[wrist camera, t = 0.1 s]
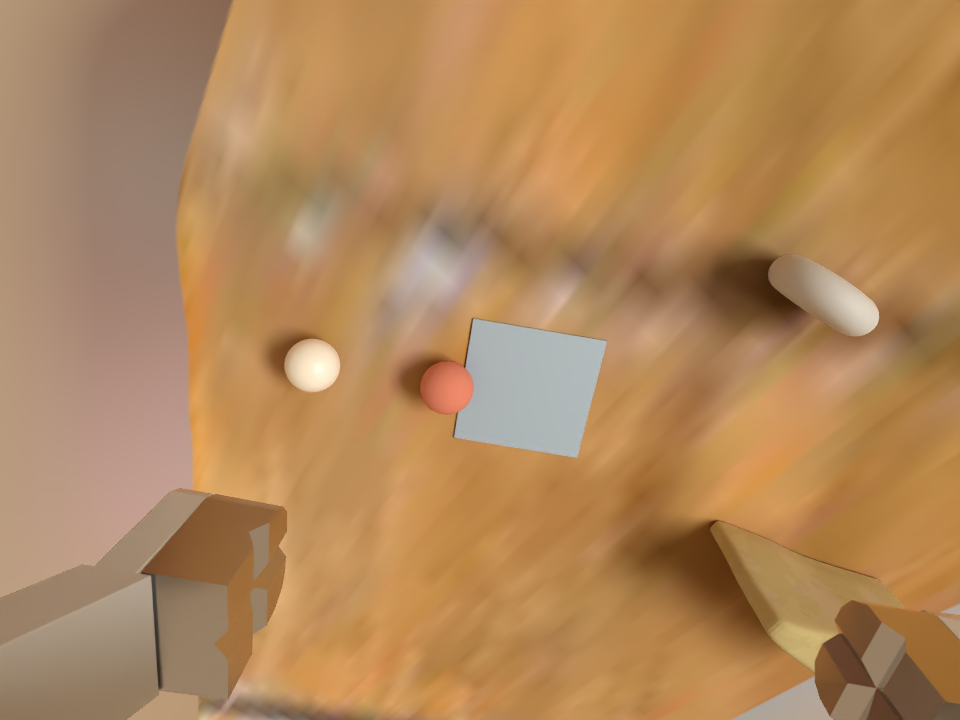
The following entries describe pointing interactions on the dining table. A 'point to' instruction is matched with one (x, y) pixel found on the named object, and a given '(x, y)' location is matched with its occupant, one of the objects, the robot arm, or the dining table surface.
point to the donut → (823, 295)
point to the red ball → (446, 387)
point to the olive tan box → (794, 590)
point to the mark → (529, 387)
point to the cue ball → (312, 365)
